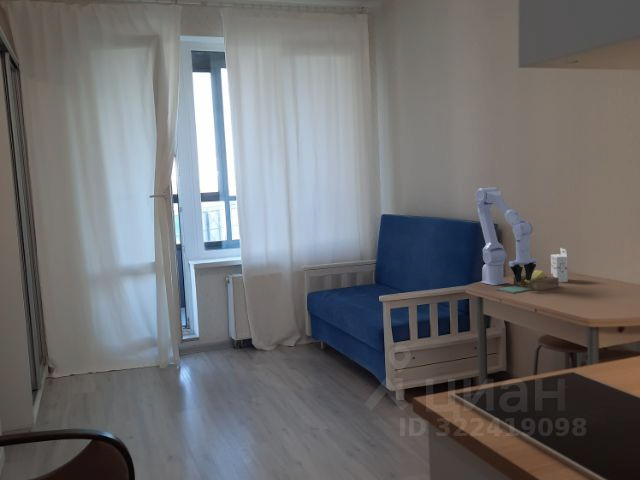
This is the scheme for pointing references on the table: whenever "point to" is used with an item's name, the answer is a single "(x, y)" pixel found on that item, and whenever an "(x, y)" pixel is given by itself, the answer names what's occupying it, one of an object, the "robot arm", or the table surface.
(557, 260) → the ink cartridge box
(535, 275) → the slab
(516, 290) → the mat
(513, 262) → the robot arm
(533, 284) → the pocket board
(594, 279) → the table surface
